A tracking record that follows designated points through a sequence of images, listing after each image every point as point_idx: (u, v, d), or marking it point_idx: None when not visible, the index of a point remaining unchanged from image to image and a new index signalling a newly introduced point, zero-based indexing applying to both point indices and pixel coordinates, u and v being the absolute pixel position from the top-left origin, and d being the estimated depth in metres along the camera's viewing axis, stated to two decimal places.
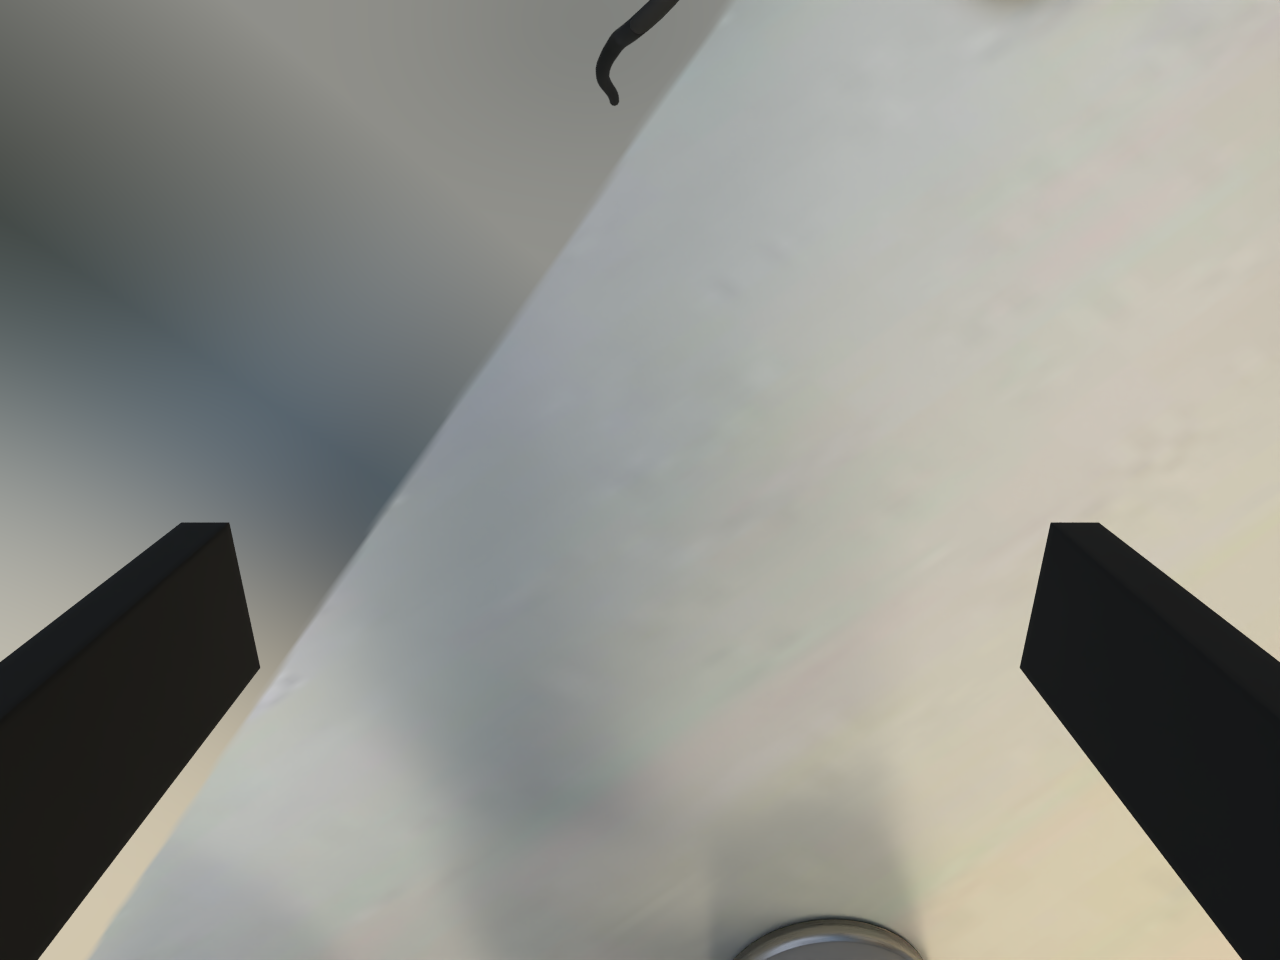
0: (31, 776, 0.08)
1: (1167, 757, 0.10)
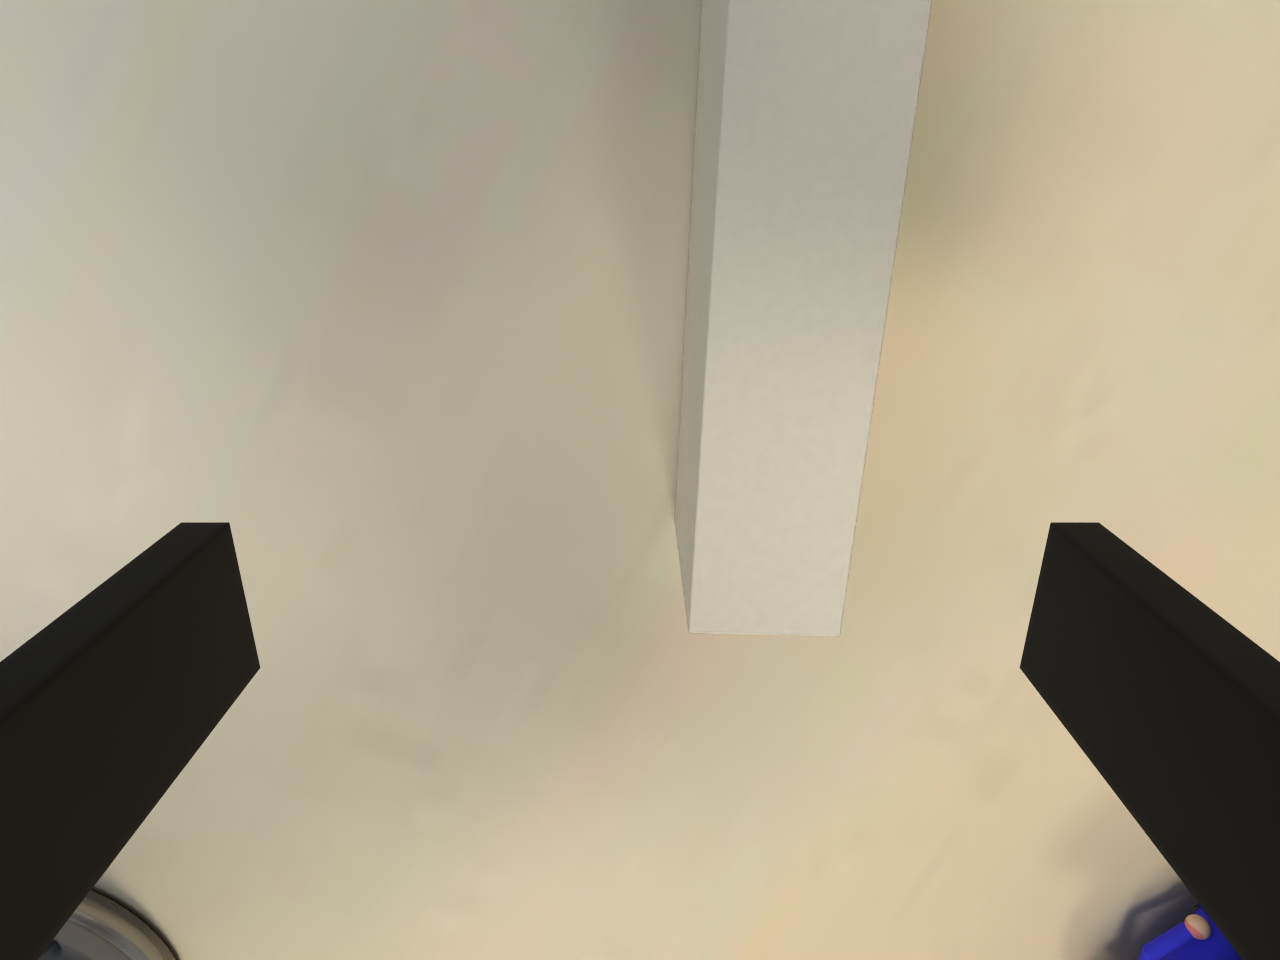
0: (30, 776, 0.08)
1: (1167, 757, 0.10)
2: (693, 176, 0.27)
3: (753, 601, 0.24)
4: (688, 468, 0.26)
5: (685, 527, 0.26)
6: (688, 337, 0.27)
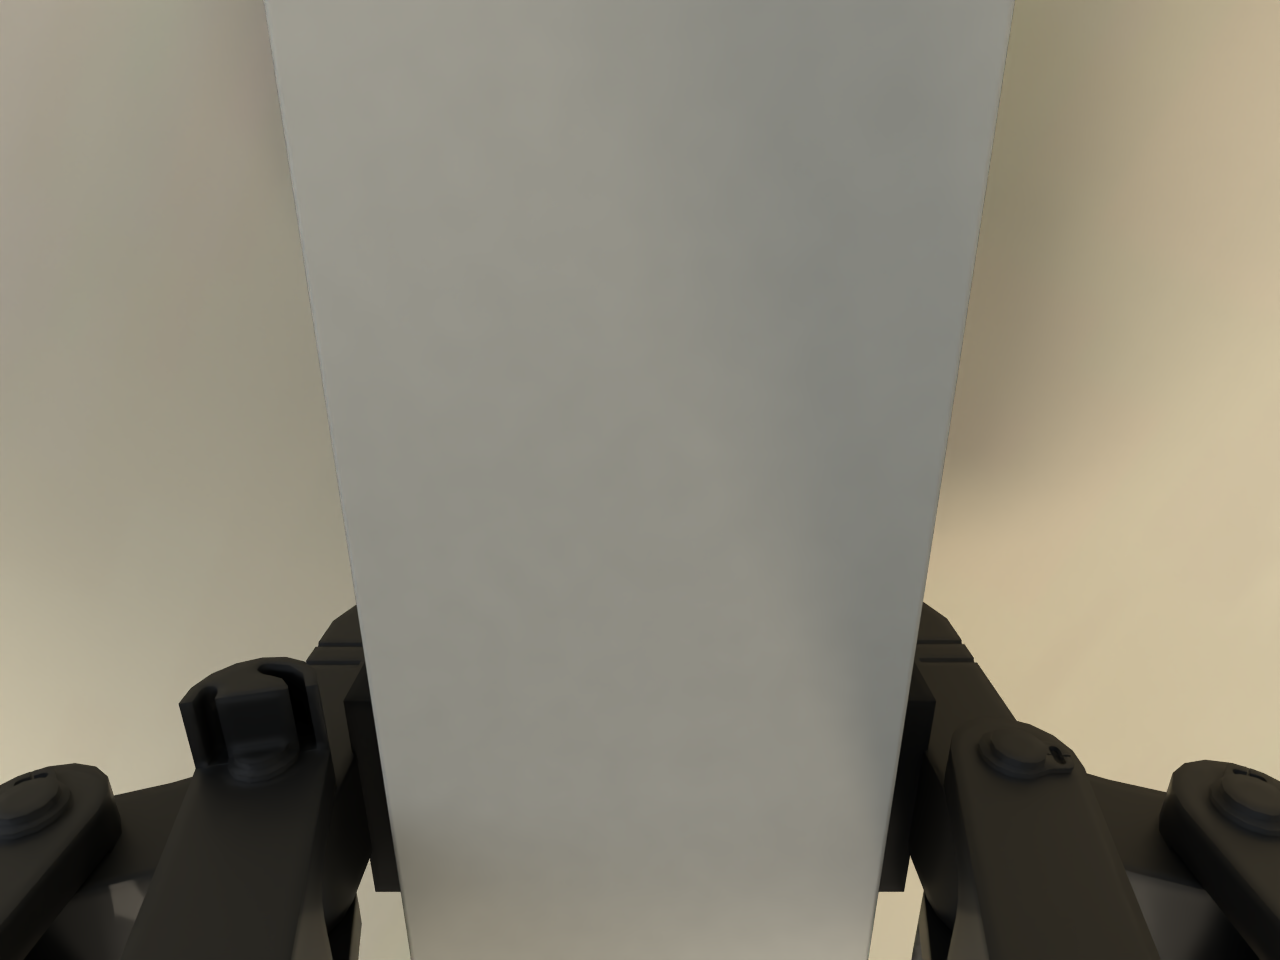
0: None
1: None
2: None
3: None
4: None
5: None
6: None
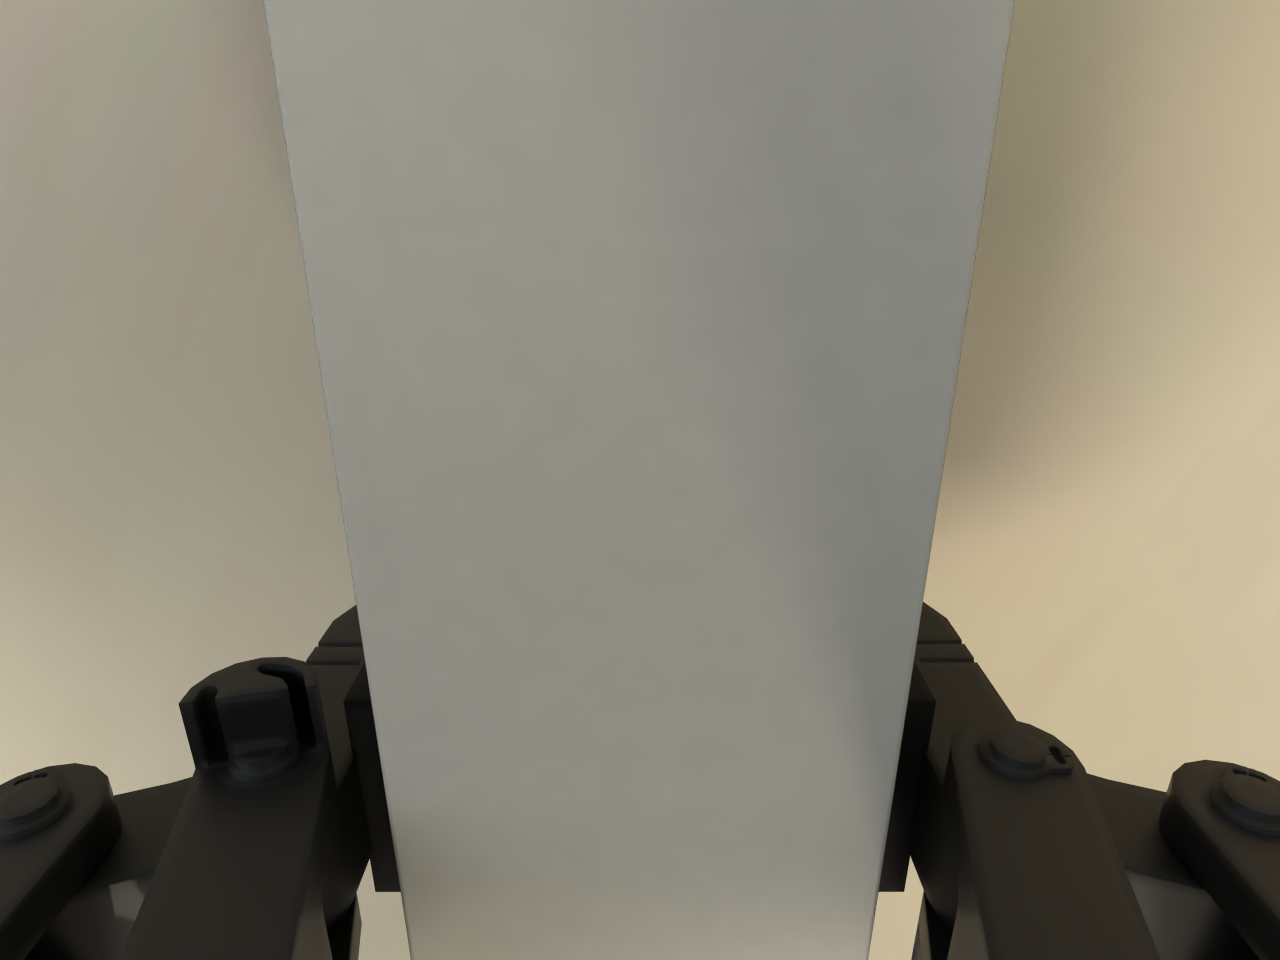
0: None
1: None
2: None
3: None
4: None
5: None
6: None
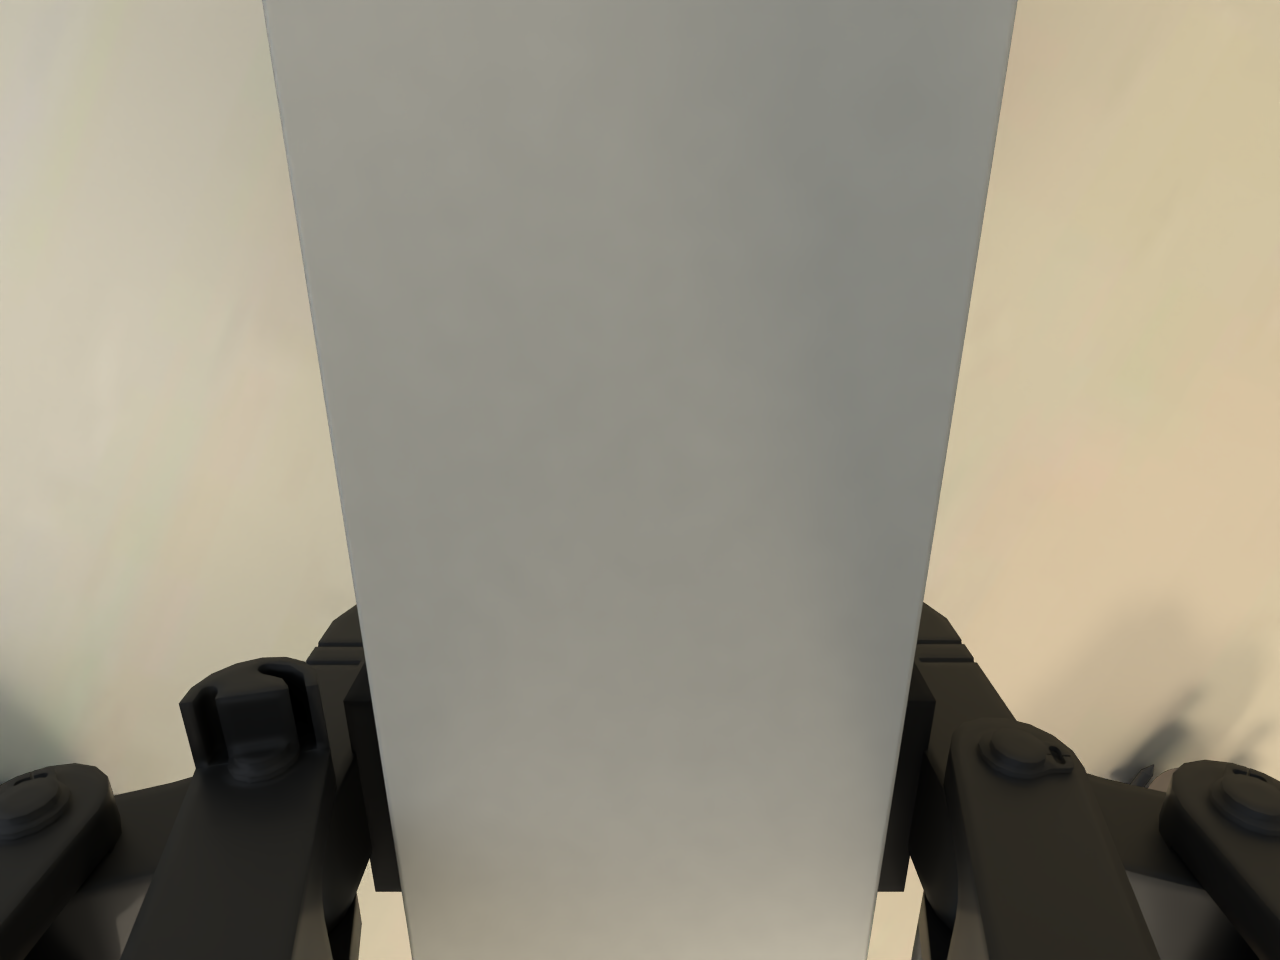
0: None
1: None
2: None
3: None
4: None
5: None
6: None
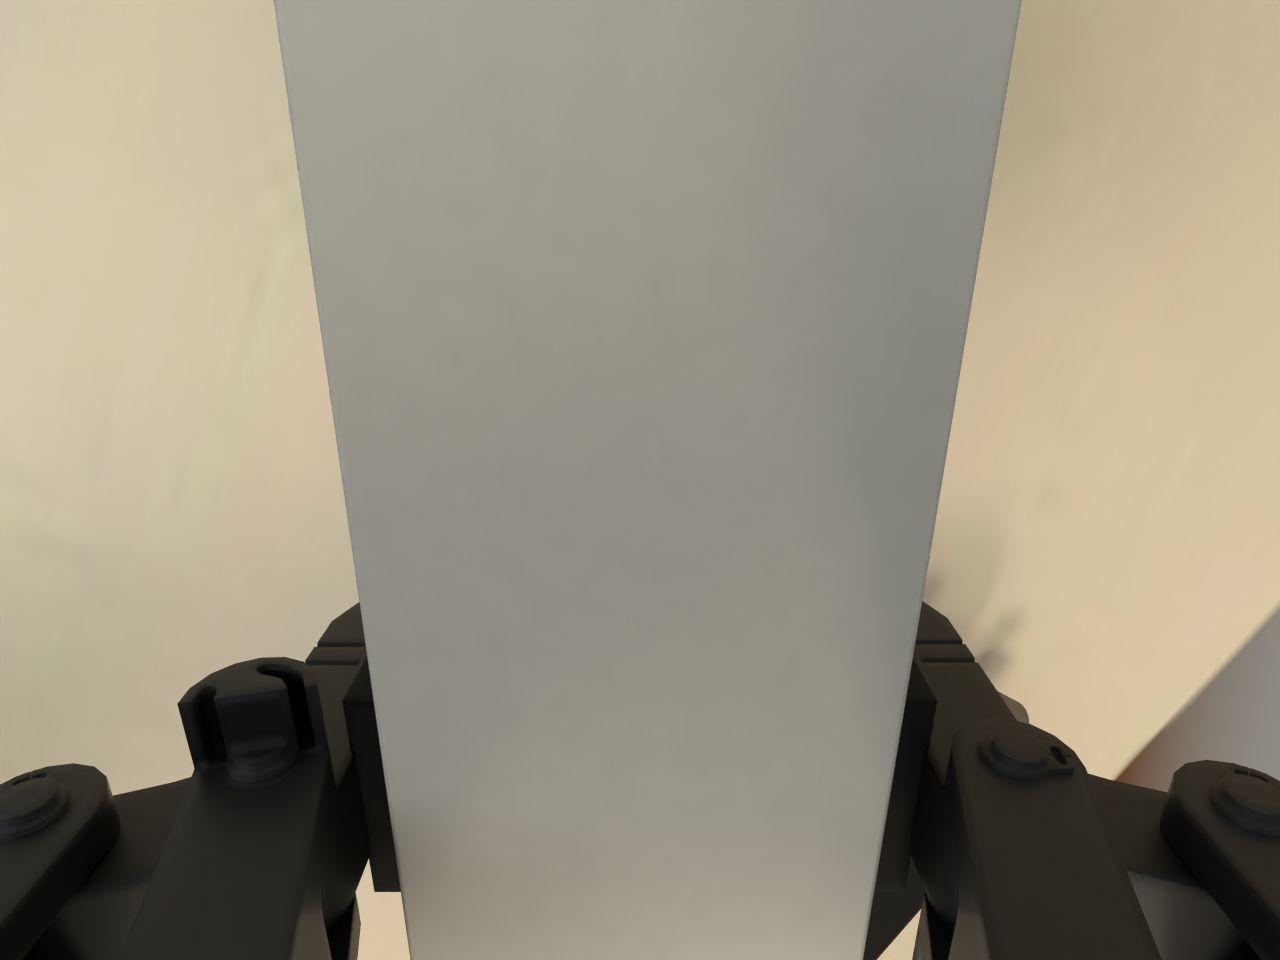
0: None
1: None
2: None
3: None
4: None
5: None
6: None
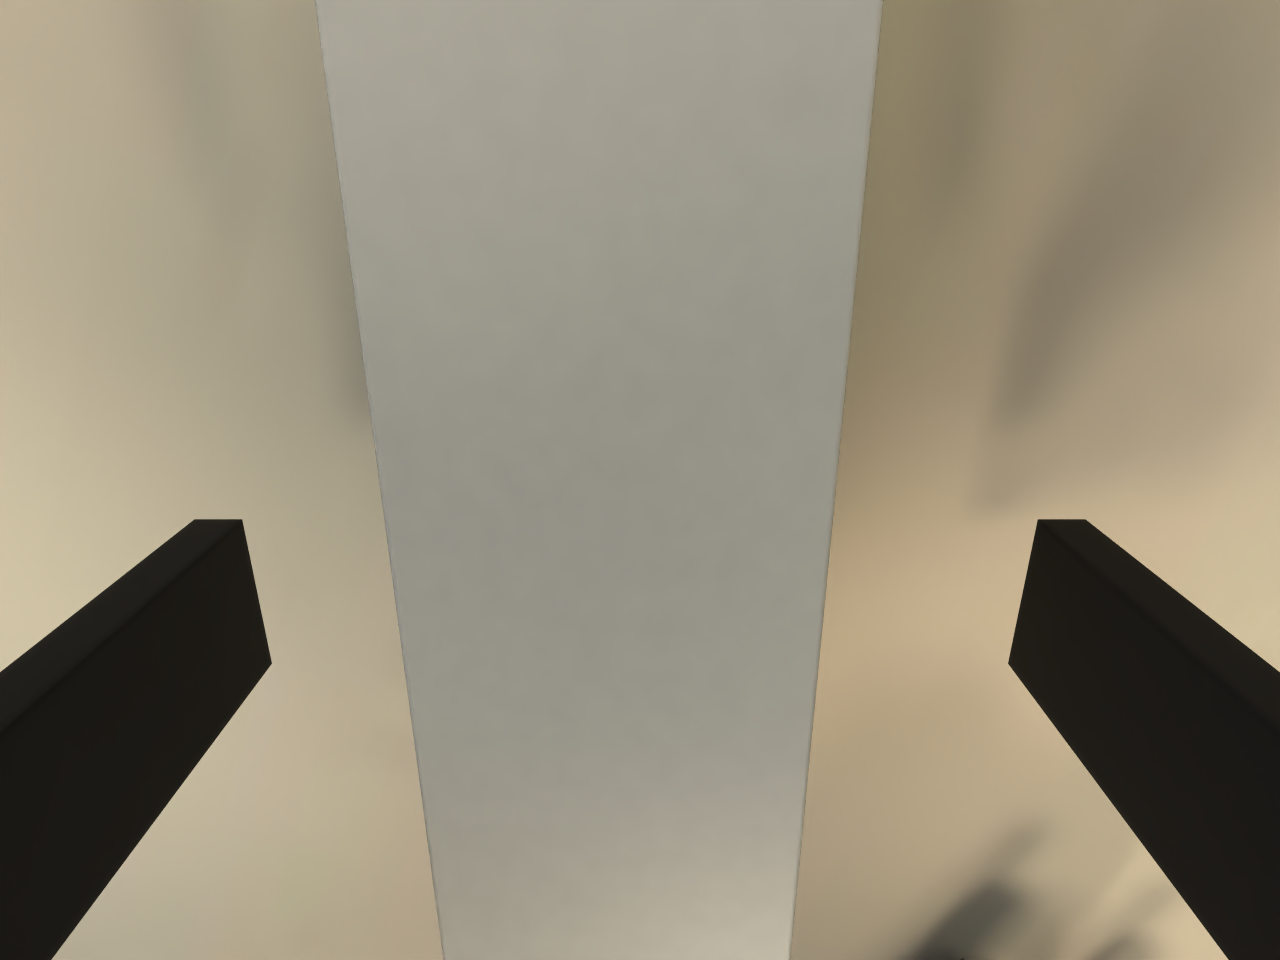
0: (52, 768, 0.08)
1: (1149, 750, 0.10)
2: None
3: None
4: None
5: None
6: None
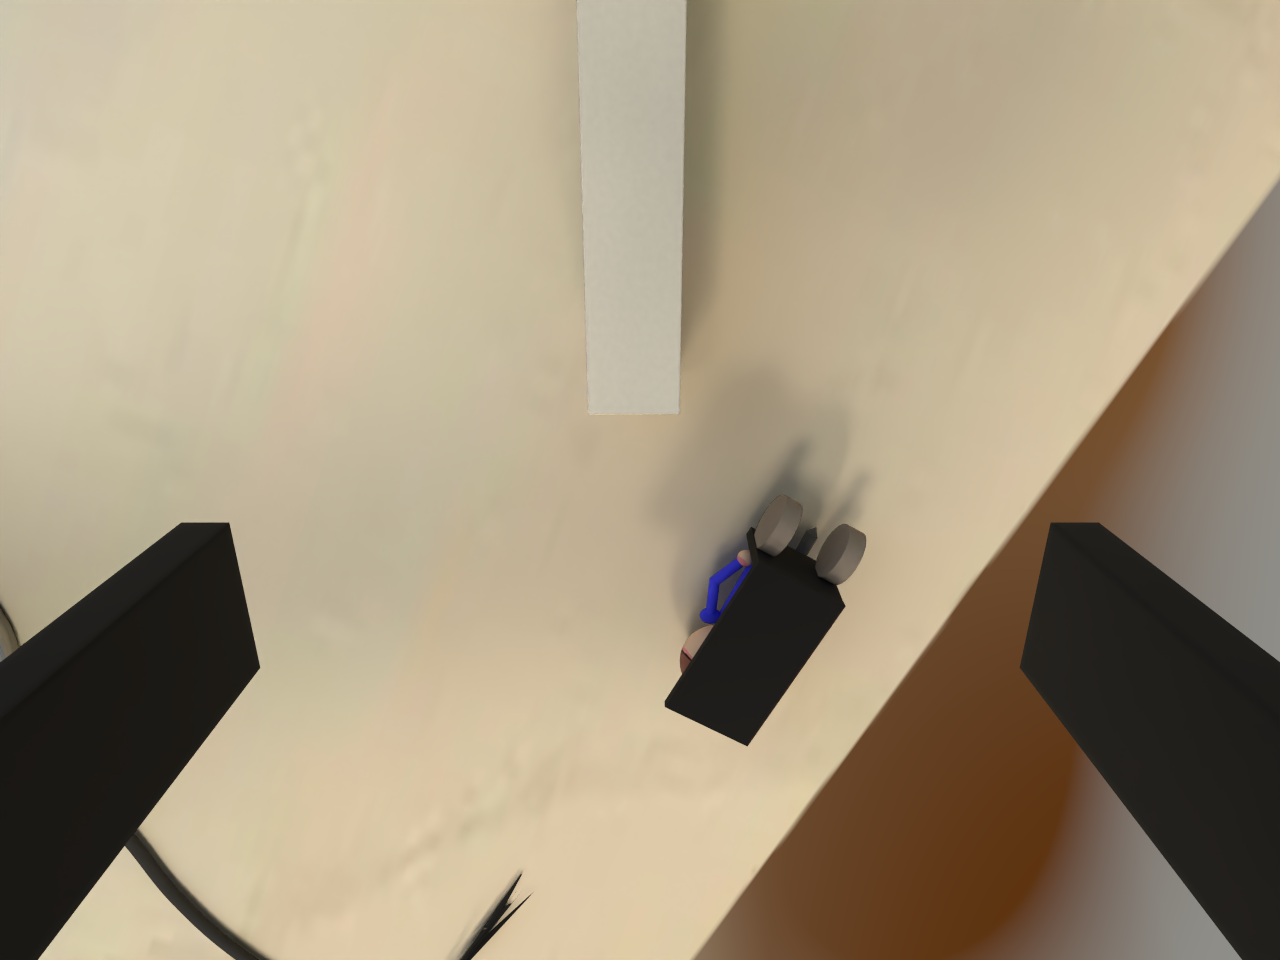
0: (29, 777, 0.08)
1: (1167, 757, 0.10)
2: None
3: (624, 392, 0.39)
4: None
5: None
6: None
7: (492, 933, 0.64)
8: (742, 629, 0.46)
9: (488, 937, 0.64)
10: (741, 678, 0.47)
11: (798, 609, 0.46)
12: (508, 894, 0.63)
